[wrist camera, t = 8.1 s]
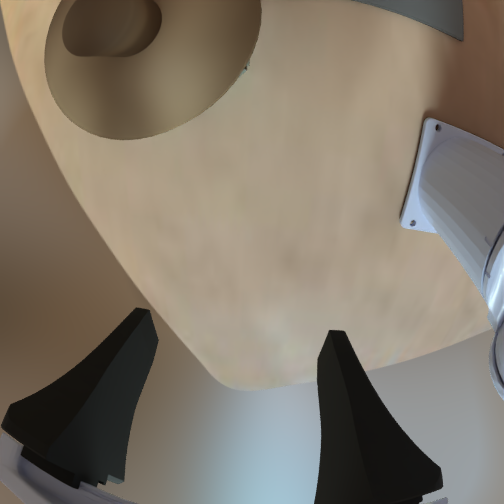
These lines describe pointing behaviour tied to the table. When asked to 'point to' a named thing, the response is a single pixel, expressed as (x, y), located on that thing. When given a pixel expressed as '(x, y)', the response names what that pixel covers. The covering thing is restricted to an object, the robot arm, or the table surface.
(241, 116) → the table surface
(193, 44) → the lid
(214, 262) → the table surface
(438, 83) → the table surface
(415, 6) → the mat
